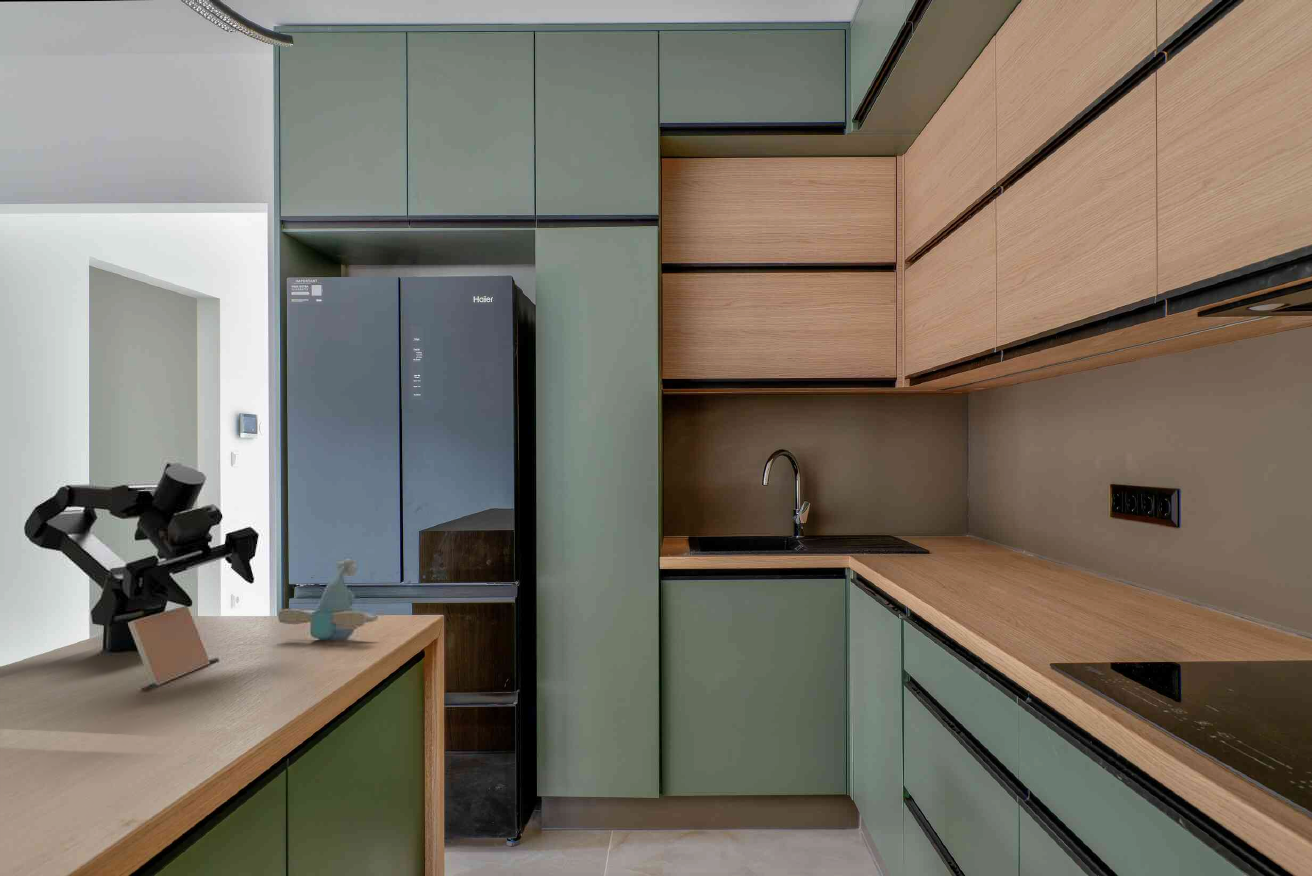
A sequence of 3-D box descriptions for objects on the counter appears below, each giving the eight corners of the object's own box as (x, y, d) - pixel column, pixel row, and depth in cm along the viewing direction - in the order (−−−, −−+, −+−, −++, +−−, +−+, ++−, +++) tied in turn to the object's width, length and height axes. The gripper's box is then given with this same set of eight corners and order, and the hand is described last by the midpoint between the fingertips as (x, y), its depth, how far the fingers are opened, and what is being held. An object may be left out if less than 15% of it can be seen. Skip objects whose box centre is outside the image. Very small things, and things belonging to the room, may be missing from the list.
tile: (127, 623, 93) (133, 620, 93) (182, 607, 103) (188, 604, 103) (152, 687, 92) (158, 684, 92) (205, 665, 102) (211, 662, 102)
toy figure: (391, 636, 125) (393, 559, 126) (361, 652, 115) (364, 568, 115) (310, 632, 127) (313, 556, 127) (274, 648, 116) (276, 565, 117)
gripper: (105, 513, 96) (159, 577, 91) (236, 482, 112) (288, 535, 107) (102, 568, 101) (153, 632, 96) (228, 530, 117) (278, 583, 111)
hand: (223, 592), depth 102 cm, fingers open, 9 cm apart
